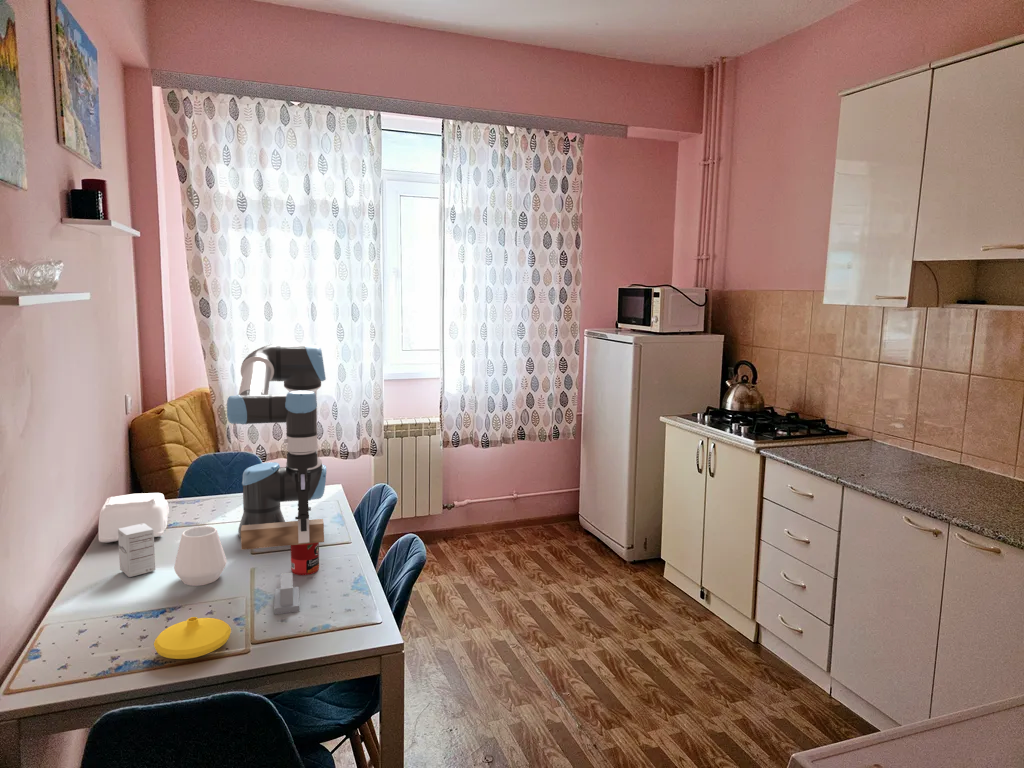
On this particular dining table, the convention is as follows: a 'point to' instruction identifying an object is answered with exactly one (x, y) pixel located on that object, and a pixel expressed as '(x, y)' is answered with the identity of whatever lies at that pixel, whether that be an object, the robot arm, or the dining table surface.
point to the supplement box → (136, 549)
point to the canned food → (305, 558)
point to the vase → (192, 638)
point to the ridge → (286, 595)
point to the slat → (279, 534)
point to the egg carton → (132, 514)
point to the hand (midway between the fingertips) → (303, 539)
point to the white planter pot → (200, 556)
